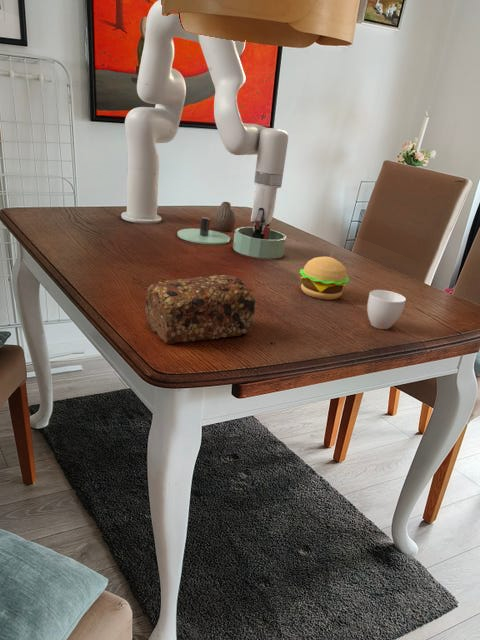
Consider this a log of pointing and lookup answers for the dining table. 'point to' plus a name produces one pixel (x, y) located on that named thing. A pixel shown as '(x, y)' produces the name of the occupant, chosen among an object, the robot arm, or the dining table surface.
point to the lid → (204, 234)
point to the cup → (384, 308)
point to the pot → (259, 243)
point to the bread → (200, 308)
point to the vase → (224, 217)
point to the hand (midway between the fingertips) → (259, 244)
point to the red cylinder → (266, 232)
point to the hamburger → (324, 278)
